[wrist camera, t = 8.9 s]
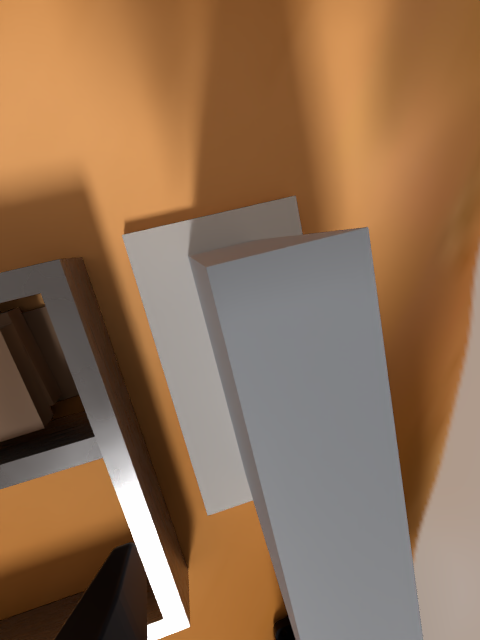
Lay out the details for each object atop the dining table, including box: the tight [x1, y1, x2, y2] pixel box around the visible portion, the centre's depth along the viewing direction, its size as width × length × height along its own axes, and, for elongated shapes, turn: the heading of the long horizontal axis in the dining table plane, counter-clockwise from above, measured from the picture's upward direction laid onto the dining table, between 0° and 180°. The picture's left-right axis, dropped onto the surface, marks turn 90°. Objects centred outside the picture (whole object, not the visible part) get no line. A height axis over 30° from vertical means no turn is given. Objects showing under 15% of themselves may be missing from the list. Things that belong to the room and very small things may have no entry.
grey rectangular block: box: [188, 227, 423, 640], centre depth 12 cm, size 12×3×10 cm, turn 13°
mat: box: [122, 196, 303, 515], centre depth 17 cm, size 8×15×1 cm, turn 13°
